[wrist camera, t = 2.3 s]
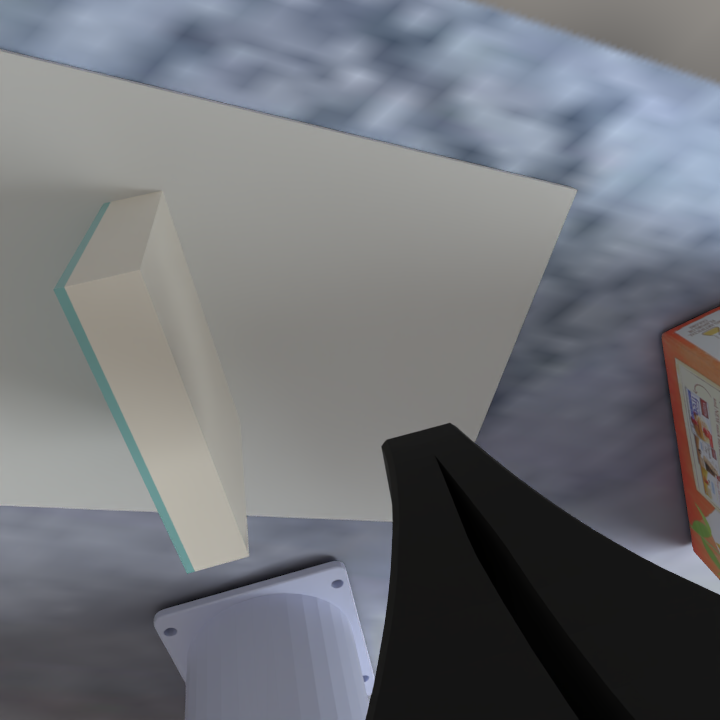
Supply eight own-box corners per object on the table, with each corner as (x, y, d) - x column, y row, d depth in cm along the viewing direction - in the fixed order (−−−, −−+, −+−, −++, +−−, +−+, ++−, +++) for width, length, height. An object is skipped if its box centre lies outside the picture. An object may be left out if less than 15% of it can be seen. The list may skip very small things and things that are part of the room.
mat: (571, 186, 19) (577, 190, 19) (438, 517, 25) (441, 523, 25) (-193, 2, 13) (-204, 2, 13) (-127, 491, 19) (-133, 500, 19)
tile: (240, 422, 21) (249, 556, 15) (193, 434, 20) (187, 573, 15) (162, 190, 16) (140, 269, 11) (103, 203, 16) (53, 289, 11)
